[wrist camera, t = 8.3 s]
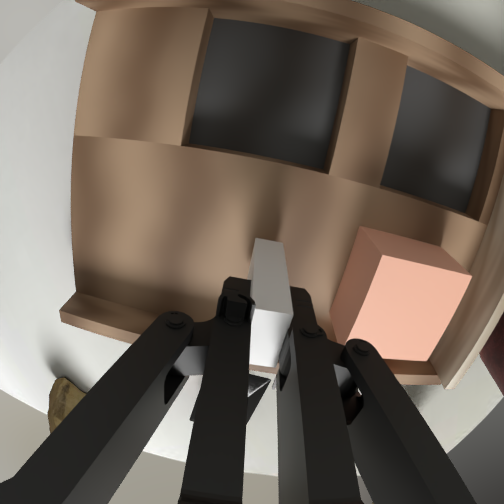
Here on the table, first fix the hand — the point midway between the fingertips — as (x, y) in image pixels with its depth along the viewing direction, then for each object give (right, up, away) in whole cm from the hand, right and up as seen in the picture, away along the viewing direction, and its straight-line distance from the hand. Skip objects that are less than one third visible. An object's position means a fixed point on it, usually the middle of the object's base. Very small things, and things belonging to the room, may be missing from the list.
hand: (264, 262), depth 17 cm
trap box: (+2, +4, +1) cm, 5 cm away
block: (+8, -1, +1) cm, 8 cm away
